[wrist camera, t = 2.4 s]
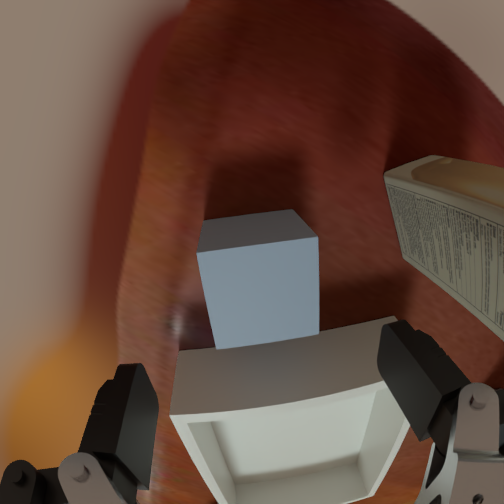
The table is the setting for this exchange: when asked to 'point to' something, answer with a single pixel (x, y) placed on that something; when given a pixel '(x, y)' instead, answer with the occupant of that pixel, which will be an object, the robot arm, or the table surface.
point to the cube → (259, 278)
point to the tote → (290, 418)
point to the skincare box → (454, 229)
